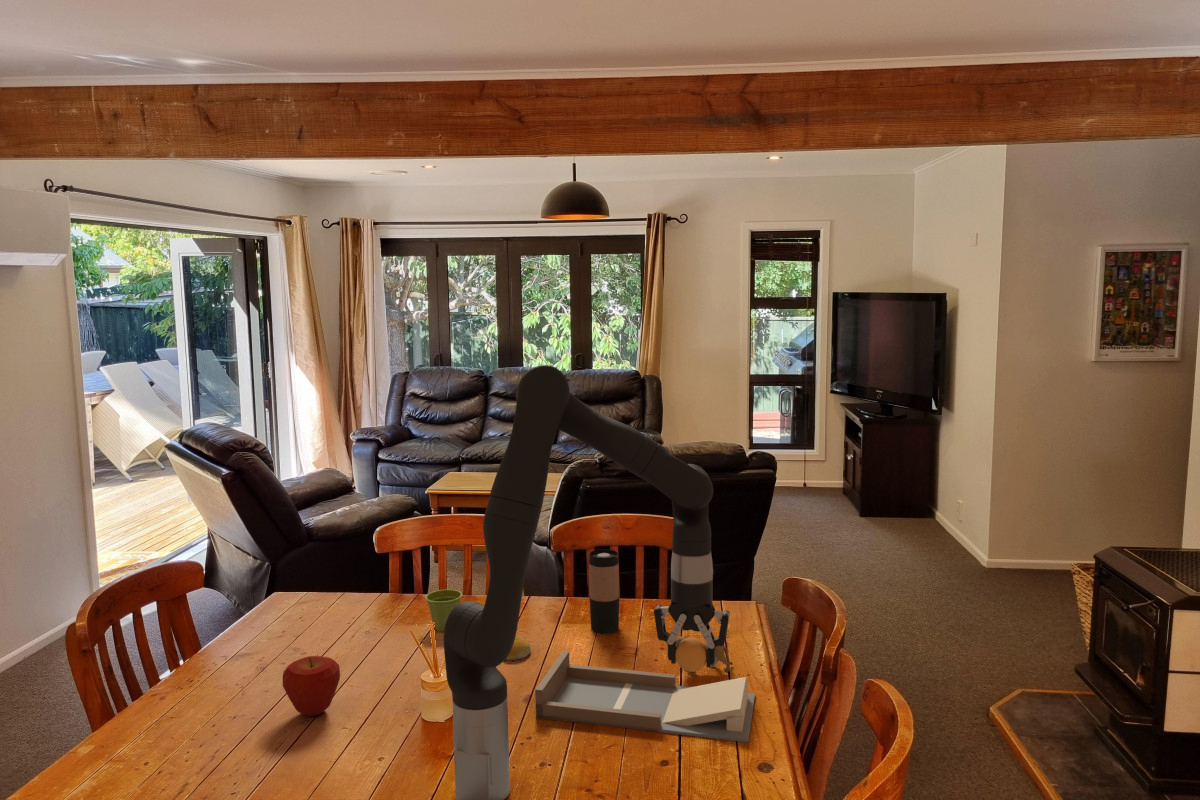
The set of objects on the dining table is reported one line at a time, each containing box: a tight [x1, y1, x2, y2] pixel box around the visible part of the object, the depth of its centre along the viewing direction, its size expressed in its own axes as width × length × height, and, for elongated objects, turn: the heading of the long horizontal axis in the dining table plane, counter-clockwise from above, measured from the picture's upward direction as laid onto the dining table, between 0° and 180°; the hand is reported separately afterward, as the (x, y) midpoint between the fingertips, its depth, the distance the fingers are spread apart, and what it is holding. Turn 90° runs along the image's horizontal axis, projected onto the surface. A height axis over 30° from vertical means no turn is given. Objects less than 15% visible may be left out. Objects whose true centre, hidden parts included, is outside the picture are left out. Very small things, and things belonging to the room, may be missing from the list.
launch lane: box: [534, 650, 756, 743], centre depth 170 cm, size 42×19×7 cm, turn 76°
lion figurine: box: [675, 635, 734, 677], centre depth 186 cm, size 15×5×9 cm, turn 109°
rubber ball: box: [675, 637, 707, 673], centre depth 151 cm, size 6×6×6 cm
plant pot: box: [425, 589, 463, 632], centre depth 214 cm, size 9×9×9 cm
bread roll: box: [504, 635, 531, 661], centre depth 198 cm, size 8×9×4 cm
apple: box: [282, 655, 341, 717], centre depth 169 cm, size 11×11×12 cm
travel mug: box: [588, 548, 620, 635], centre depth 211 cm, size 8×8×20 cm
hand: (691, 663), depth 151 cm, fingers closed on rubber ball, 6 cm apart
